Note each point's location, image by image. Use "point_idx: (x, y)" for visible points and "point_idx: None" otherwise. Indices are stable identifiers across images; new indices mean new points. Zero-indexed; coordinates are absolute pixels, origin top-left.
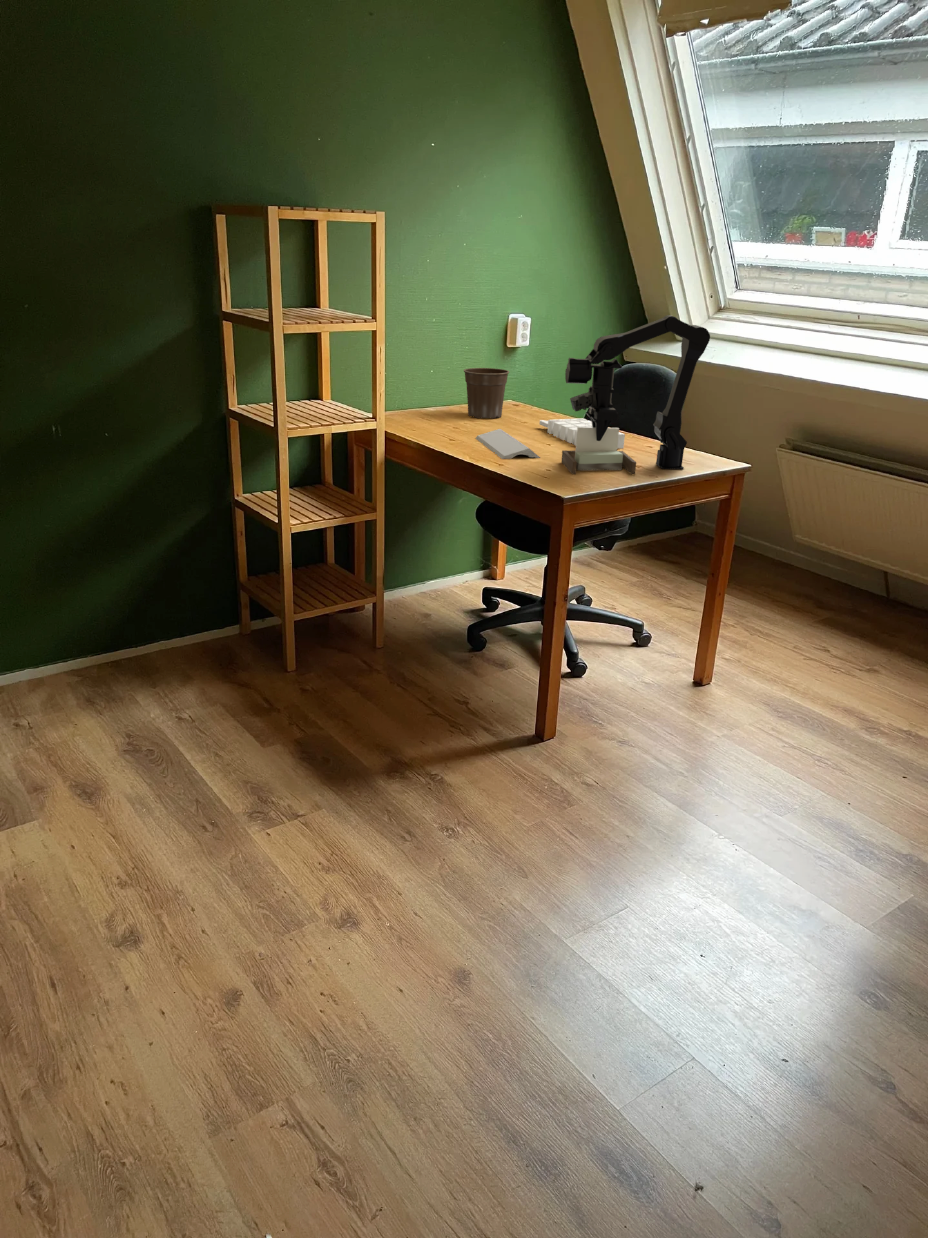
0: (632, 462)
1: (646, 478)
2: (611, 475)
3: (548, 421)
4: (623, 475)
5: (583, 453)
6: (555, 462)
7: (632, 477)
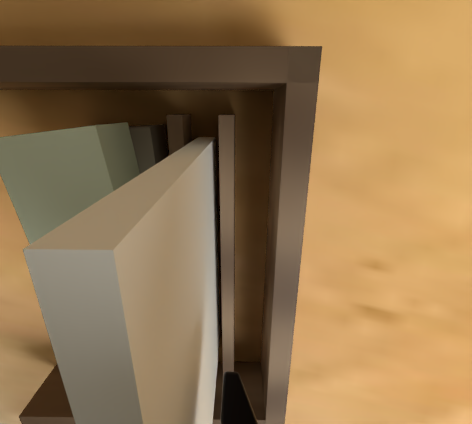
0: (27, 412)
1: (7, 390)
2: (17, 279)
3: None
4: (33, 326)
5: (63, 187)
6: (298, 15)
7: (7, 350)
